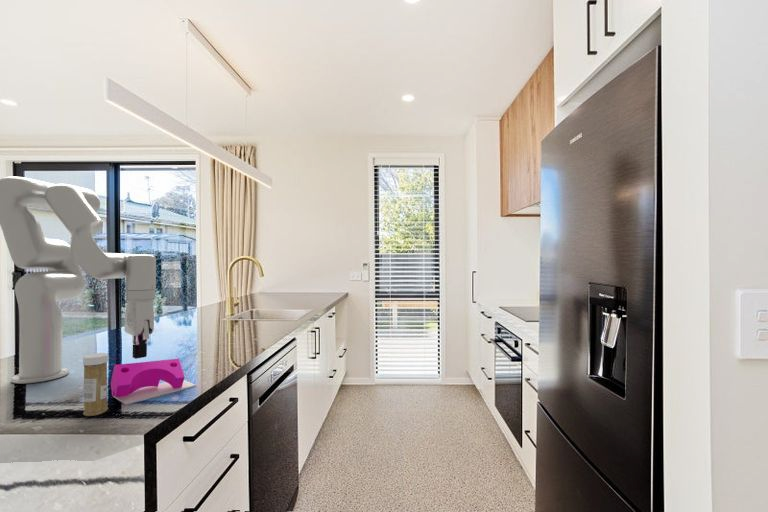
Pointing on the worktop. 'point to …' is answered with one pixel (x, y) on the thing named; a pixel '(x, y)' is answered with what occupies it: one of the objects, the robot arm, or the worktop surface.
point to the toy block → (145, 376)
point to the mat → (152, 392)
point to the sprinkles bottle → (95, 384)
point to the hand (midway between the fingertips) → (139, 357)
